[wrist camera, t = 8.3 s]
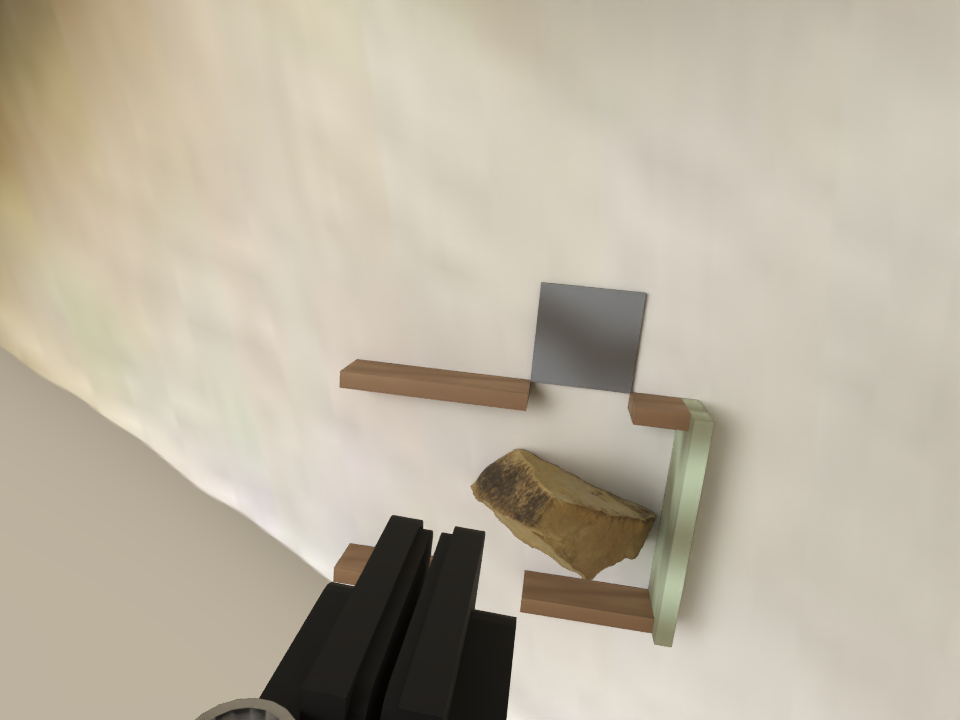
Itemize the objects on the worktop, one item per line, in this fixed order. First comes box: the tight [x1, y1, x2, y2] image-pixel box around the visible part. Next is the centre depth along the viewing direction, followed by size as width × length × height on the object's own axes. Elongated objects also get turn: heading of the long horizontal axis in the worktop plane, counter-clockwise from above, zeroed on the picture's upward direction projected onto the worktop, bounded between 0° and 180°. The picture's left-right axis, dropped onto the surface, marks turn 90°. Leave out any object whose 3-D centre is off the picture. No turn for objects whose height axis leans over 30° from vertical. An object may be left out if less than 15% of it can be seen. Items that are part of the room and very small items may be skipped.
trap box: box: [333, 282, 714, 647], centre depth 37 cm, size 20×21×4 cm
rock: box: [471, 449, 656, 580], centre depth 36 cm, size 11×9×10 cm
